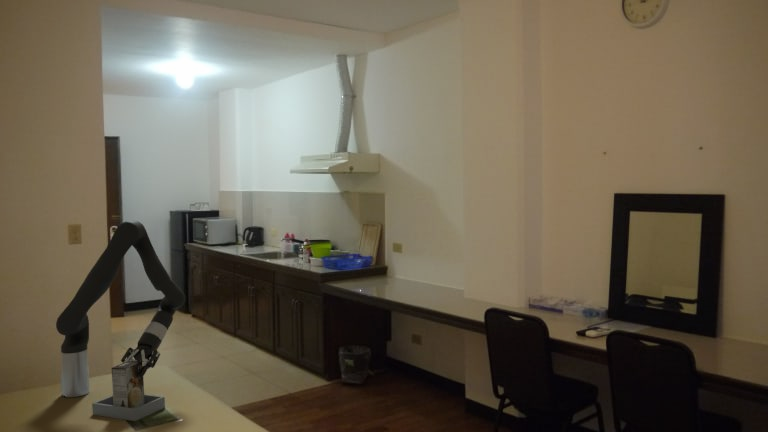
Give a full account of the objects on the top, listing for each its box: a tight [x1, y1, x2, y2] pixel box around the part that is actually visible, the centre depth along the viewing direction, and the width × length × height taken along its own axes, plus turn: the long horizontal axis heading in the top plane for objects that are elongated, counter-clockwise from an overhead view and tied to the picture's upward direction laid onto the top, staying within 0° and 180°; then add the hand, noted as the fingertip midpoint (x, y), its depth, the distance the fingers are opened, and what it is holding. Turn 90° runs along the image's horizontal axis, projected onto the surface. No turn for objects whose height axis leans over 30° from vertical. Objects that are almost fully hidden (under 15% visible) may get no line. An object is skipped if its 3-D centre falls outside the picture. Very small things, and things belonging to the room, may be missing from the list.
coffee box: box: [111, 361, 145, 409], centre depth 218 cm, size 9×6×16 cm
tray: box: [91, 393, 166, 422], centre depth 218 cm, size 20×14×4 cm
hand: (130, 375), depth 219 cm, fingers open, 8 cm apart
